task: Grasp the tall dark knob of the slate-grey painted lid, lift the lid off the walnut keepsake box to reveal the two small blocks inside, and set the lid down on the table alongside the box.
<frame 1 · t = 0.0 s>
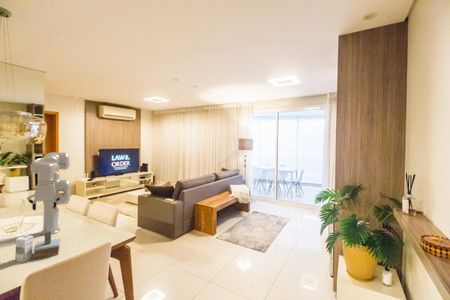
hand: (44, 209, 135), 31 cm above the table, fingers open, 9 cm apart
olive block: (41, 254, 137), point 1 cm above the table, touching keepsake box
keepsake box: (47, 254, 139), on the table
lid: (47, 245, 139), point 6 cm above the table, touching keepsake box
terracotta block: (52, 252, 140), point 1 cm above the table, touching keepsake box
syrup box: (23, 260, 131), on the table
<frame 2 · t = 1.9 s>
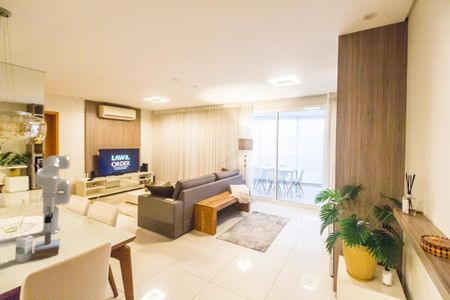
hand: (48, 220, 138), 23 cm above the table, fingers open, 9 cm apart
nothing on the table moved.
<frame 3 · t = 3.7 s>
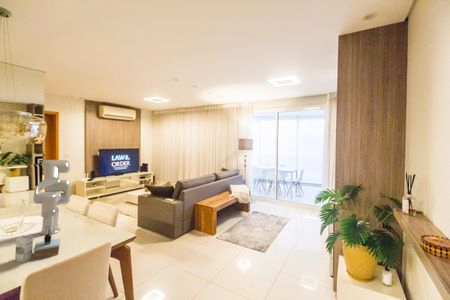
hand: (47, 240, 139), 9 cm above the table, fingers closed on lid, 3 cm apart
lid: (47, 245, 139), point 6 cm above the table, touching gripper, keepsake box
everything else where it was.
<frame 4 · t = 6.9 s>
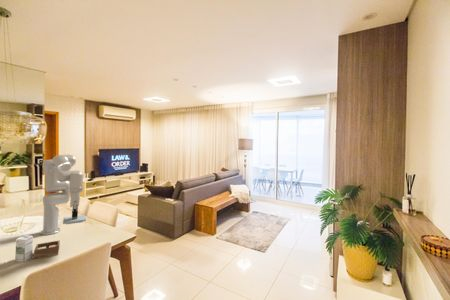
hand: (74, 215, 146), 24 cm above the table, fingers closed on lid, 3 cm apart
lid: (74, 220, 147), point 21 cm above the table, touching gripper
everything else where it was.
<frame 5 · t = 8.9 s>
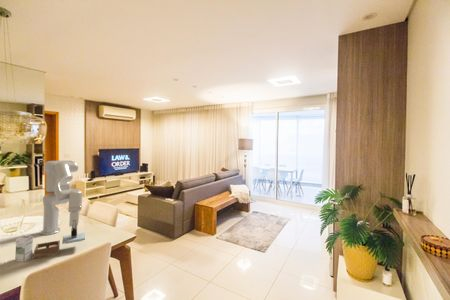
hand: (74, 234, 147), 11 cm above the table, fingers closed on lid, 3 cm apart
lid: (73, 238, 147), point 7 cm above the table, touching gripper
everything else where it was.
when the fingers open (6 cm above the table, at t = 10.3 s): lid drops 2 cm, point 1 cm above the table.
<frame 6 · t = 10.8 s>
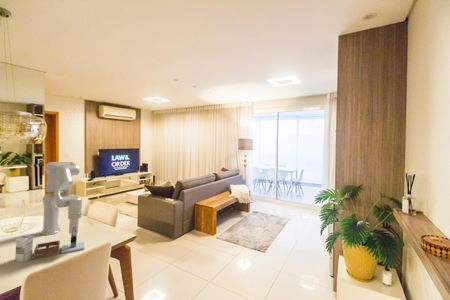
hand: (73, 239, 147), 7 cm above the table, fingers open, 9 cm apart
lid: (73, 248, 147), point 1 cm above the table
everything else where it was.
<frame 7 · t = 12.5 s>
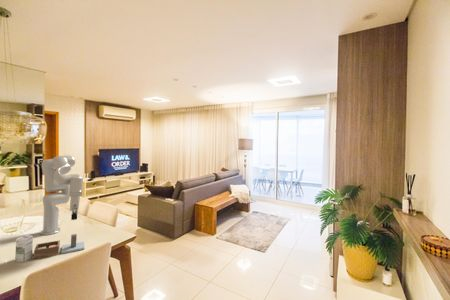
hand: (74, 217, 149), 22 cm above the table, fingers open, 9 cm apart
nothing on the table moved.
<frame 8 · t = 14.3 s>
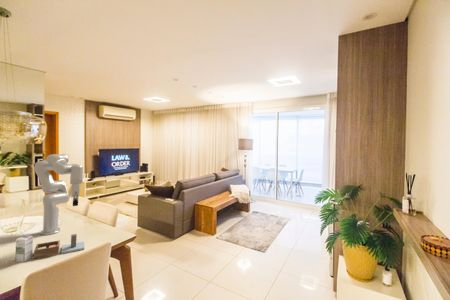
hand: (75, 204, 158), 28 cm above the table, fingers open, 9 cm apart
nothing on the table moved.
at the end: lid inside the target area (0.5 cm from its centre), point 0.8 cm above the table; lid touching table; lid tilted 0° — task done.
